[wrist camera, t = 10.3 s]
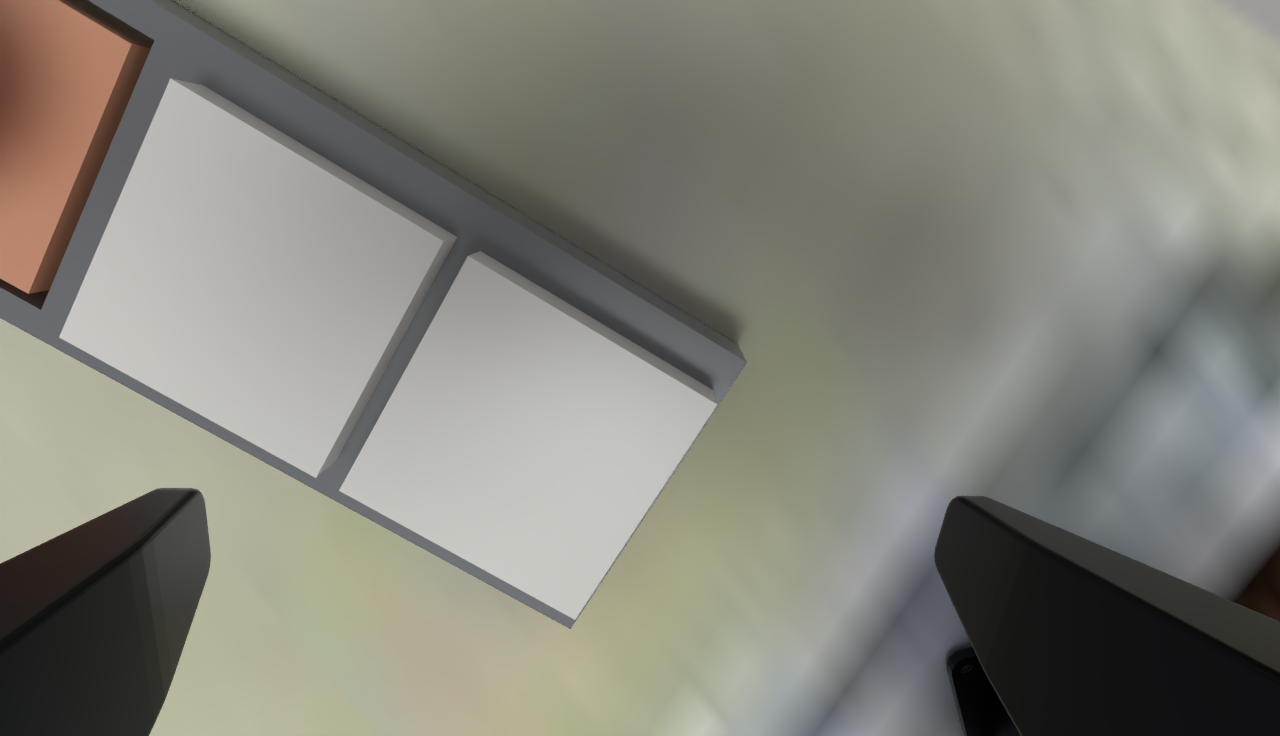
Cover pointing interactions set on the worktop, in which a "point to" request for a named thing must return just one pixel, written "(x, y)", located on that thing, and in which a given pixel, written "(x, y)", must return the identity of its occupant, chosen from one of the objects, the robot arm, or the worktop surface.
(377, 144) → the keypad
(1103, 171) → the worktop surface
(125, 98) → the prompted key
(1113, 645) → the robot arm
